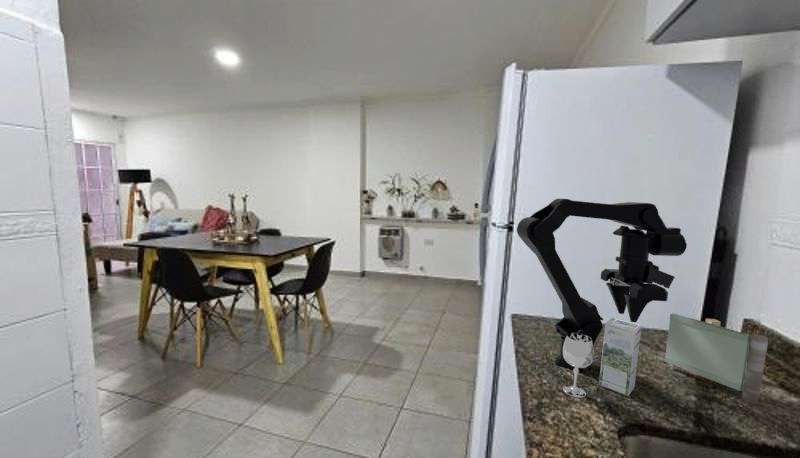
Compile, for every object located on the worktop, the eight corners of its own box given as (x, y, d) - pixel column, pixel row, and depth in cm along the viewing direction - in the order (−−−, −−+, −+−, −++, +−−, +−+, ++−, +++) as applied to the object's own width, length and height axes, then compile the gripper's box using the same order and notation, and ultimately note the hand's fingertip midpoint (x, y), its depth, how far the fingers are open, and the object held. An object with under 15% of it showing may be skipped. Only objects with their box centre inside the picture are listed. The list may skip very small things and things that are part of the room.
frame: (771, 405, 71) (782, 340, 70) (748, 403, 72) (758, 338, 70) (708, 364, 88) (715, 310, 86) (689, 362, 89) (696, 309, 87)
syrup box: (635, 387, 76) (642, 323, 75) (628, 398, 72) (635, 331, 71) (606, 376, 80) (612, 316, 79) (597, 386, 76) (604, 322, 75)
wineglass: (589, 402, 70) (595, 345, 69) (558, 393, 73) (563, 339, 72) (589, 388, 75) (595, 335, 74) (560, 381, 78) (565, 329, 77)
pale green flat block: (743, 389, 74) (751, 335, 73) (739, 391, 73) (748, 336, 72) (667, 360, 86) (673, 313, 85) (664, 361, 86) (670, 314, 84)
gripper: (699, 265, 73) (689, 336, 75) (647, 250, 92) (640, 307, 94) (642, 262, 75) (634, 332, 76) (602, 247, 93) (597, 304, 95)
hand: (627, 317), depth 85 cm, fingers open, 5 cm apart
